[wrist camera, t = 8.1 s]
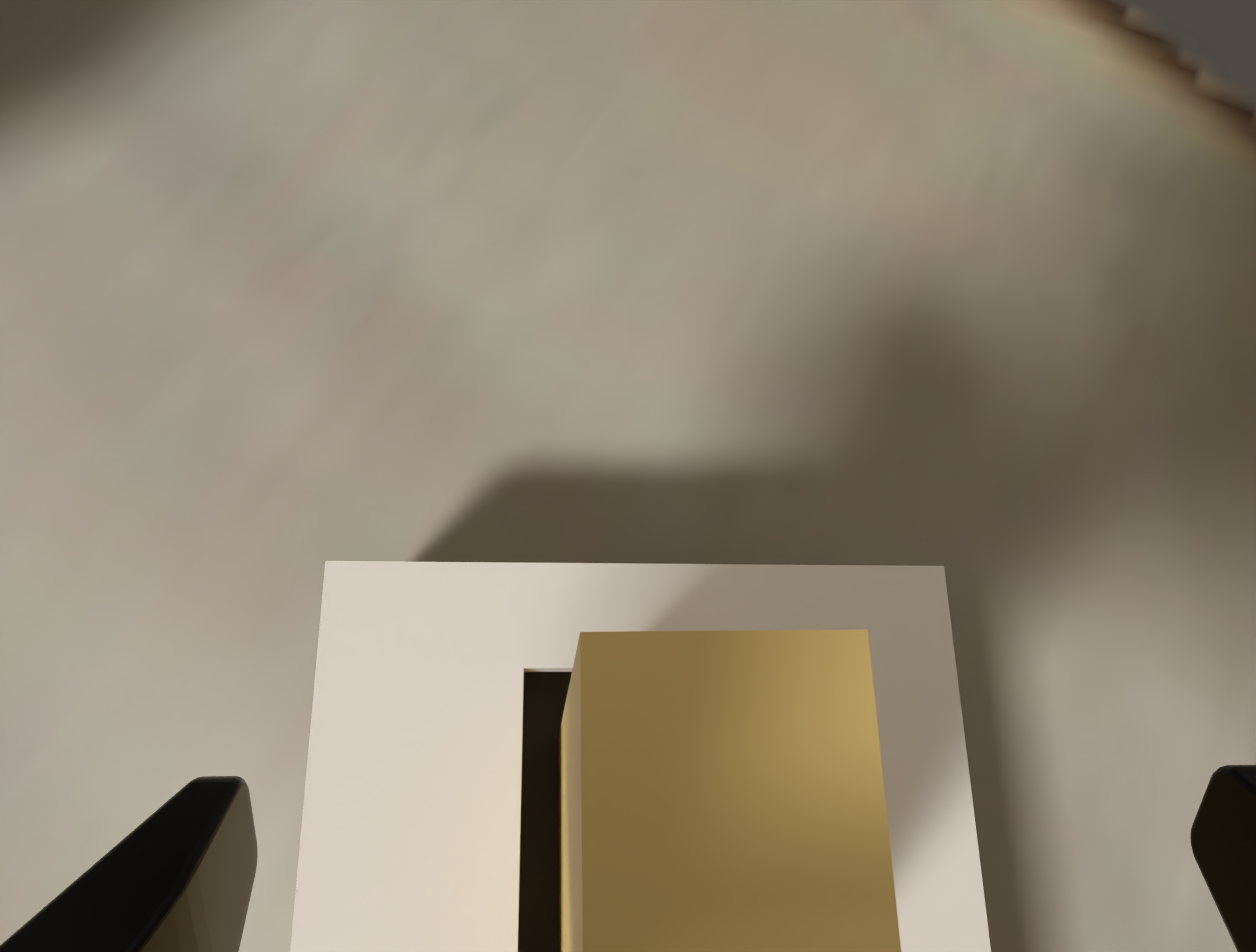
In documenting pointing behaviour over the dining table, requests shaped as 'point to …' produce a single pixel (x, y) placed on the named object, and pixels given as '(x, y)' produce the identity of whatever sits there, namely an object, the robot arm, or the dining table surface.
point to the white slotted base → (529, 728)
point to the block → (723, 795)
